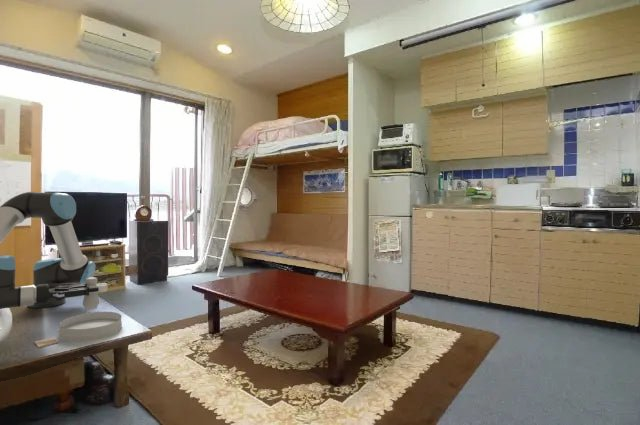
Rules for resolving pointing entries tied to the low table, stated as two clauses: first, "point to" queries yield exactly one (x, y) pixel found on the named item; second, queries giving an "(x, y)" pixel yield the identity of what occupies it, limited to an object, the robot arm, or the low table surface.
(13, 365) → the low table surface
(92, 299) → the salt shaker
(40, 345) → the cork coaster
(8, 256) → the robot arm
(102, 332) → the dish
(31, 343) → the low table surface
